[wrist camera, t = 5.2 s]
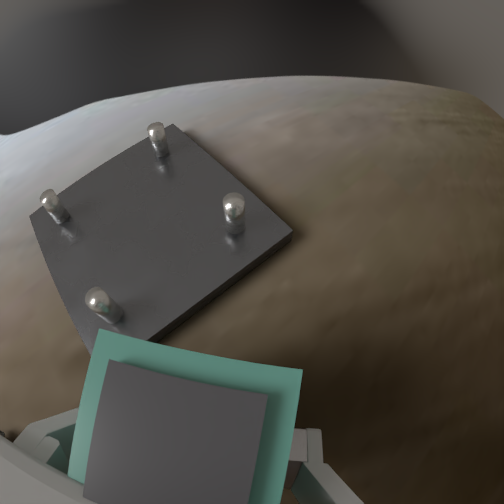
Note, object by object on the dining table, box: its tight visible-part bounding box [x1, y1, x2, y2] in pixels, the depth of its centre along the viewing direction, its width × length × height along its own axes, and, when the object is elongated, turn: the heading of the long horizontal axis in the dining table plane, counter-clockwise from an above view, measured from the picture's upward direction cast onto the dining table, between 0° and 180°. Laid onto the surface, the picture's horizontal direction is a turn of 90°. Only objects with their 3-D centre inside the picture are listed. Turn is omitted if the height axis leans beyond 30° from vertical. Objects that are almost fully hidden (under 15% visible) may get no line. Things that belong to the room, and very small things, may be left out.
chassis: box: [29, 122, 293, 356], centre depth 19 cm, size 14×14×4 cm
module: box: [67, 328, 303, 504], centre depth 10 cm, size 5×5×10 cm
